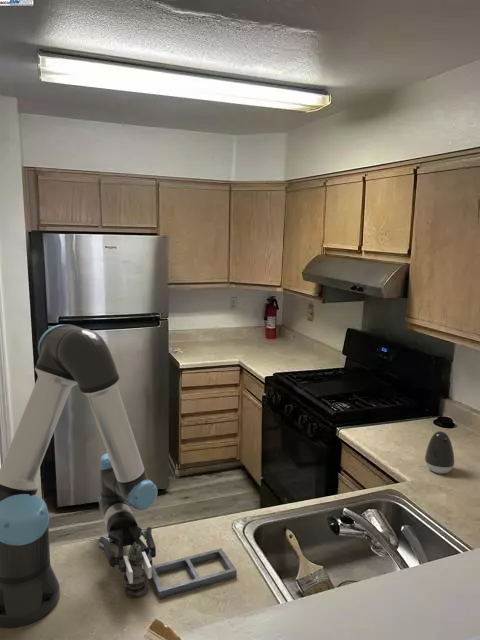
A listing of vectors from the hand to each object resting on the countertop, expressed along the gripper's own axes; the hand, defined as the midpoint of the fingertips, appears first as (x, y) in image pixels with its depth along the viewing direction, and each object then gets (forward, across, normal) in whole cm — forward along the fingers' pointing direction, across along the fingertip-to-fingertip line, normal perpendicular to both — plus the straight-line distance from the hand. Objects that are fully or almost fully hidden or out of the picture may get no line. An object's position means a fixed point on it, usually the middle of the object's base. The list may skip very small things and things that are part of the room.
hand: (140, 575), depth 108 cm
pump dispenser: (-26, -118, -7) cm, 121 cm away
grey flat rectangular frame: (-5, -14, -7) cm, 17 cm away
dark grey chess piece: (-5, 0, -7) cm, 9 cm away
